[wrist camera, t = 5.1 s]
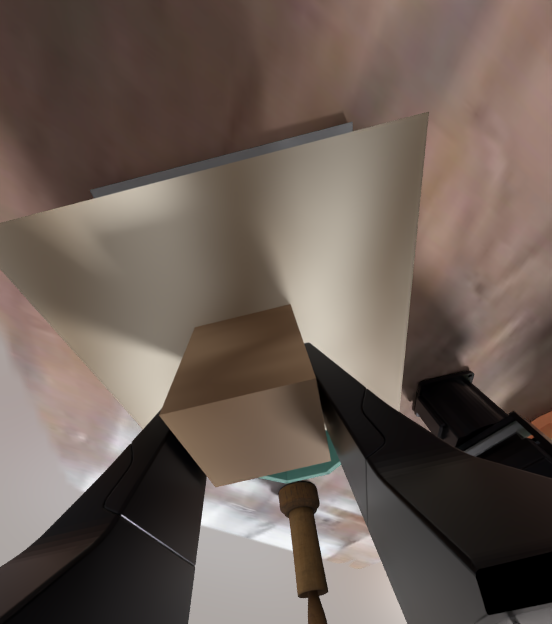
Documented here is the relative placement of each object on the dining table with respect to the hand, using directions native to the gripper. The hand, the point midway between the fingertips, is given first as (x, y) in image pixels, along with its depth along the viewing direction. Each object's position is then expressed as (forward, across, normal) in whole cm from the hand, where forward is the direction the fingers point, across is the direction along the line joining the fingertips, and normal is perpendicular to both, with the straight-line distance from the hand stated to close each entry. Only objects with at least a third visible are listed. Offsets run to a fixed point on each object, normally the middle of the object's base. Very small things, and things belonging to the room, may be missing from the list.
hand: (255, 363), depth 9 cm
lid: (+1, 0, 0) cm, 1 cm away
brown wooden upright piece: (+11, +3, +39) cm, 41 cm away
